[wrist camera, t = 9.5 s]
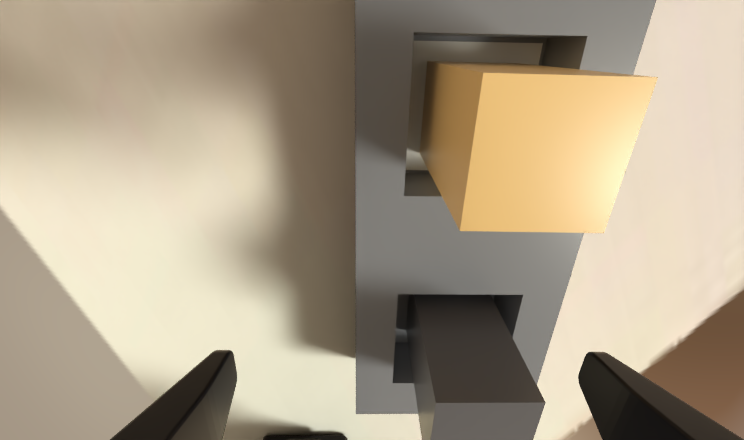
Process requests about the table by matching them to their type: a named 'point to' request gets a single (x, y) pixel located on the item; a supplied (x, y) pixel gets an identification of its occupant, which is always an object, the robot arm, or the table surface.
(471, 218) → the amber plug
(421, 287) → the grey piece
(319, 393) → the table surface
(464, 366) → the dark gray plug
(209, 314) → the table surface
